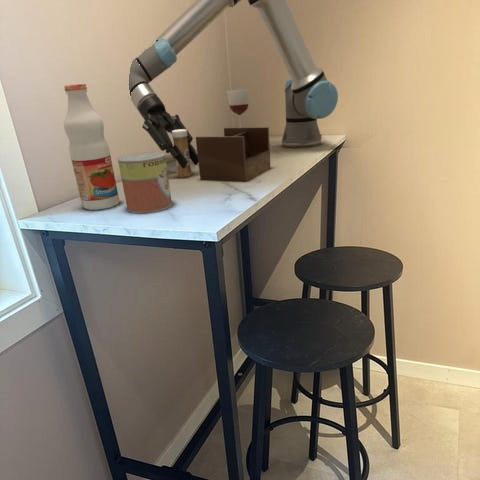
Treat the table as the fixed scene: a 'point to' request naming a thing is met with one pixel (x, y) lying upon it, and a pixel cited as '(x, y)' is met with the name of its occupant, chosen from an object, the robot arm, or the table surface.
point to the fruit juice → (89, 151)
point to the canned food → (145, 182)
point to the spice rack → (234, 154)
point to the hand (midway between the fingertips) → (191, 163)
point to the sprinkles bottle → (182, 151)
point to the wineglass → (238, 101)
